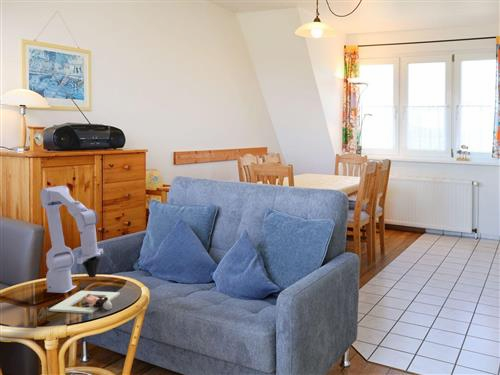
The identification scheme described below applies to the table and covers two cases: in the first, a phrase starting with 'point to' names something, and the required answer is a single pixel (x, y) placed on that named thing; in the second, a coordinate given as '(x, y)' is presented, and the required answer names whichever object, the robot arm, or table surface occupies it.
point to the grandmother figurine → (97, 302)
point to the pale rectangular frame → (67, 304)
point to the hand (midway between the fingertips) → (92, 276)
